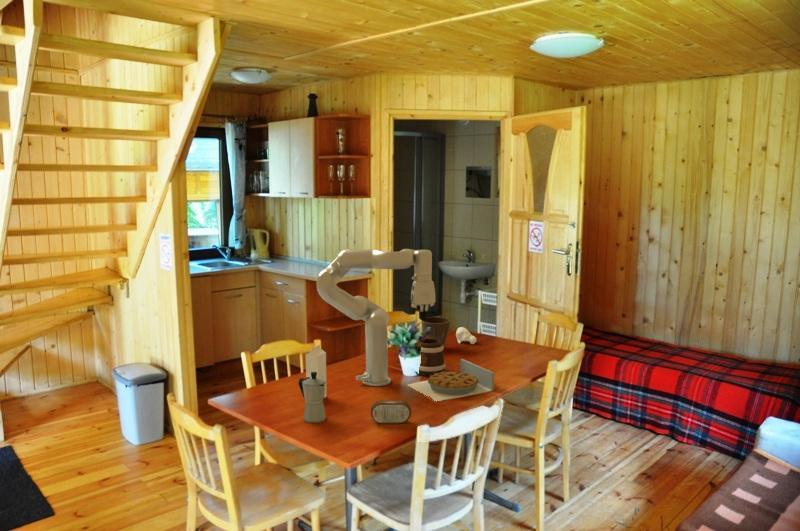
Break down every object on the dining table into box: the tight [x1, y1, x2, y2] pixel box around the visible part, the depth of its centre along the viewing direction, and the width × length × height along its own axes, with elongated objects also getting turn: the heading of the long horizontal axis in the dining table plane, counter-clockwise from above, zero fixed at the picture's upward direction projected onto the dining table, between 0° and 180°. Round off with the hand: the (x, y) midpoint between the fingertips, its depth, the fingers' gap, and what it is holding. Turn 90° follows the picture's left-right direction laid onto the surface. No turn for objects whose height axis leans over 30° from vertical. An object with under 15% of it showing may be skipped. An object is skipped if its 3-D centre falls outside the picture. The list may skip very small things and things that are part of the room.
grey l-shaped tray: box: [407, 358, 495, 403], centre depth 266 cm, size 29×24×9 cm
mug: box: [419, 338, 447, 377], centre depth 290 cm, size 20×15×15 cm
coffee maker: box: [298, 372, 327, 424], centre depth 231 cm, size 15×9×18 cm, turn 48°
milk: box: [305, 344, 327, 399], centre depth 252 cm, size 6×6×22 cm
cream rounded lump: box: [455, 326, 477, 345], centre depth 341 cm, size 6×8×12 cm
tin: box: [370, 399, 412, 425], centre depth 227 cm, size 15×3×8 cm, turn 92°
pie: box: [427, 370, 479, 395], centre depth 265 cm, size 22×22×5 cm
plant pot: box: [421, 316, 451, 346], centre depth 328 cm, size 15×15×16 cm
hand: (422, 319), depth 269 cm, fingers closed
